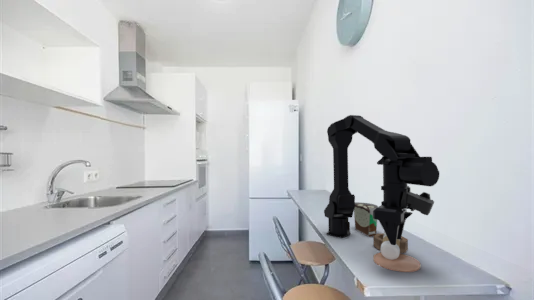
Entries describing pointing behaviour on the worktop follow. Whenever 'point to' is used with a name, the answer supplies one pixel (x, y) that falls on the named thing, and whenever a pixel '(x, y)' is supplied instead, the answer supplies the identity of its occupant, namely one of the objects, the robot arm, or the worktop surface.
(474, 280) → the worktop surface
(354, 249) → the worktop surface
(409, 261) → the peach round disc
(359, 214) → the food container
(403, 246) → the ring
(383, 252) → the sprinkles bottle
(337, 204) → the robot arm
